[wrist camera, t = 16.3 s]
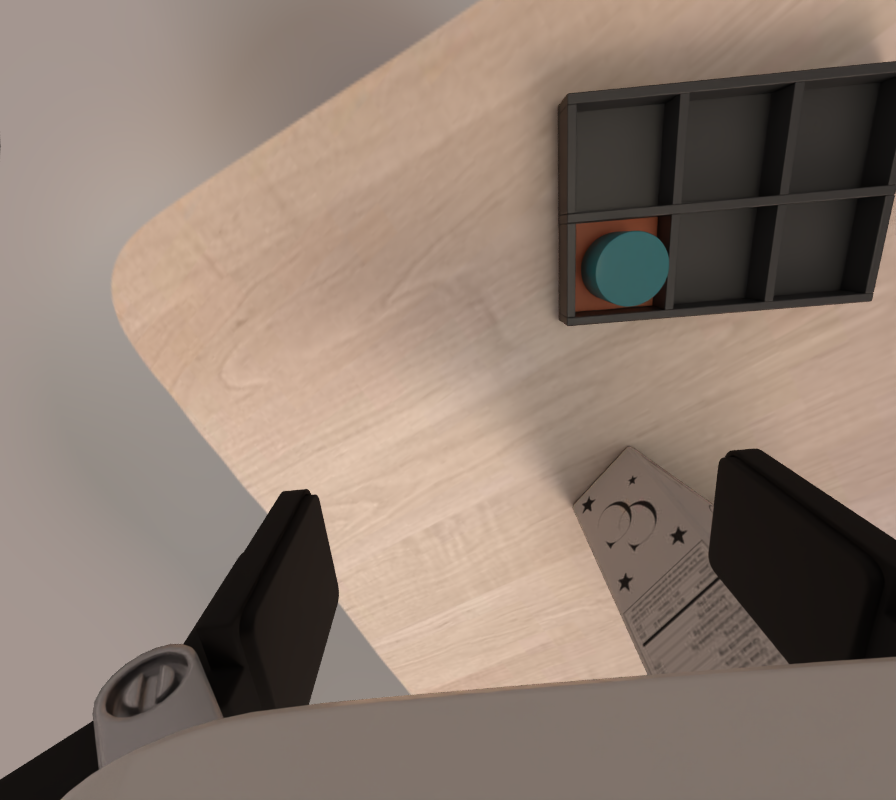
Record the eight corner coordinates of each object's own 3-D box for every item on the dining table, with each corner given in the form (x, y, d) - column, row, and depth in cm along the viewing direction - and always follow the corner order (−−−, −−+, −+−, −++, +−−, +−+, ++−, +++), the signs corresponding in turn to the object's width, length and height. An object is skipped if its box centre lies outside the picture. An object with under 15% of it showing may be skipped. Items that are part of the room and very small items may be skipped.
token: (581, 234, 33) (596, 233, 29) (649, 228, 32) (672, 227, 29) (580, 302, 34) (594, 309, 31) (645, 297, 34) (666, 303, 31)
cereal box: (800, 566, 43) (1231, 969, 19) (739, 617, 45) (1060, 1039, 21) (628, 443, 39) (904, 761, 15) (569, 506, 41) (732, 873, 17)
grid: (557, 105, 31) (567, 93, 28) (884, 73, 30) (925, 57, 27) (558, 320, 35) (567, 326, 33) (841, 297, 35) (872, 301, 32)
